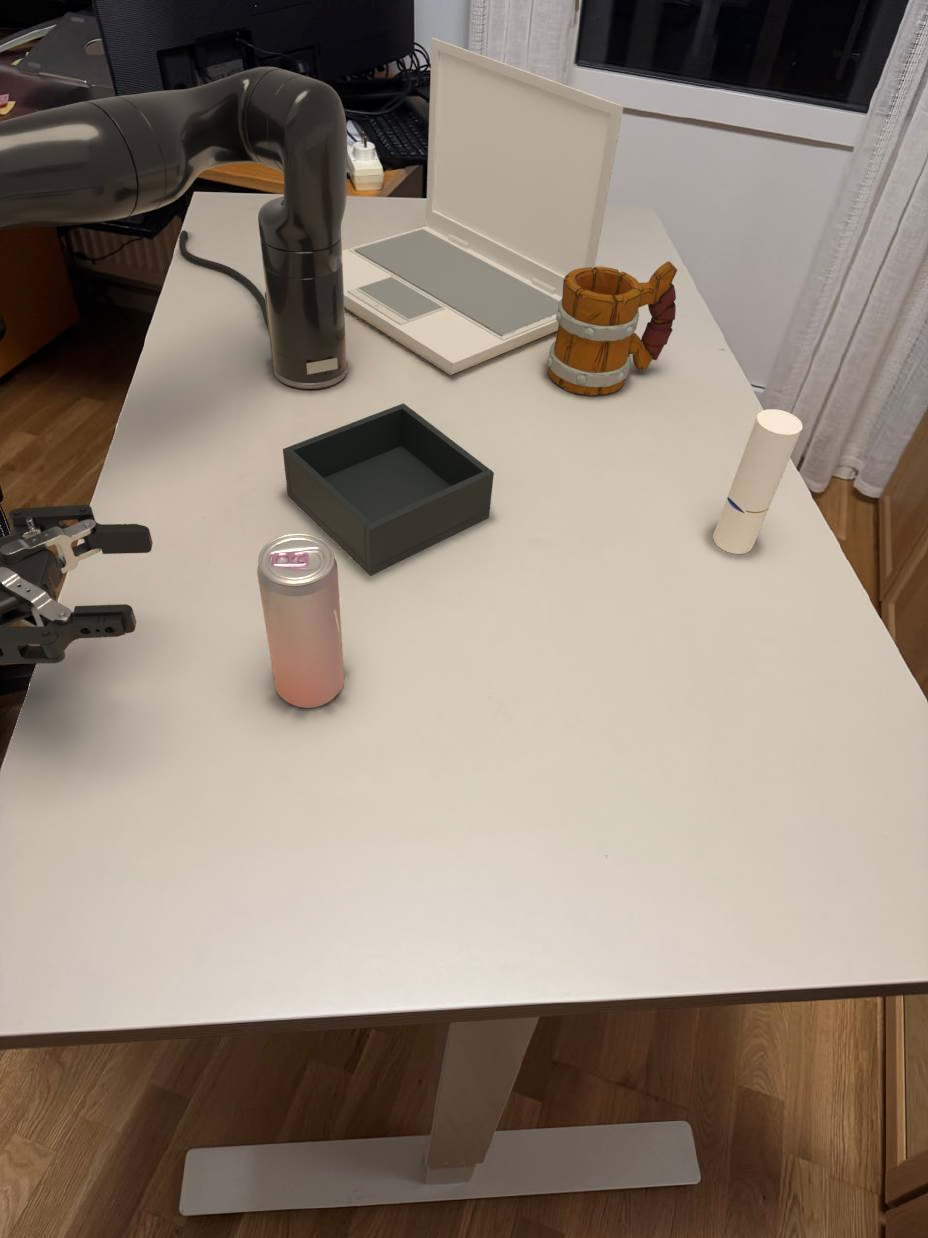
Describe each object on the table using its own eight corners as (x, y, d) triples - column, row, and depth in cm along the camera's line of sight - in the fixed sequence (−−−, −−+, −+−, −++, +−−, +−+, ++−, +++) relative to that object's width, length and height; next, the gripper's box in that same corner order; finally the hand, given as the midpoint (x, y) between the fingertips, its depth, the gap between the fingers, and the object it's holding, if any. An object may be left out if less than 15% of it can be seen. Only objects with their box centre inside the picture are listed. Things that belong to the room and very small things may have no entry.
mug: (534, 357, 115) (549, 246, 104) (646, 351, 118) (672, 243, 107) (556, 400, 108) (575, 286, 97) (675, 393, 111) (706, 281, 100)
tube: (754, 533, 92) (803, 415, 81) (750, 558, 89) (801, 438, 78) (715, 523, 93) (758, 405, 82) (710, 547, 90) (754, 427, 79)
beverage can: (277, 659, 75) (258, 531, 64) (345, 657, 76) (337, 530, 65) (272, 712, 71) (251, 585, 60) (344, 710, 72) (335, 584, 61)
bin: (287, 494, 91) (282, 448, 87) (402, 447, 99) (403, 402, 94) (370, 575, 83) (369, 529, 79) (489, 517, 91) (494, 472, 86)
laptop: (296, 281, 126) (279, 60, 105) (430, 240, 139) (437, 36, 119) (452, 381, 109) (466, 141, 89) (586, 324, 122) (626, 104, 102)
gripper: (-158, 619, 52) (115, 609, 54) (-84, 480, 62) (145, 476, 64) (-107, 695, 58) (139, 683, 60) (-46, 556, 67) (164, 550, 70)
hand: (142, 576), depth 62 cm, fingers open, 8 cm apart
